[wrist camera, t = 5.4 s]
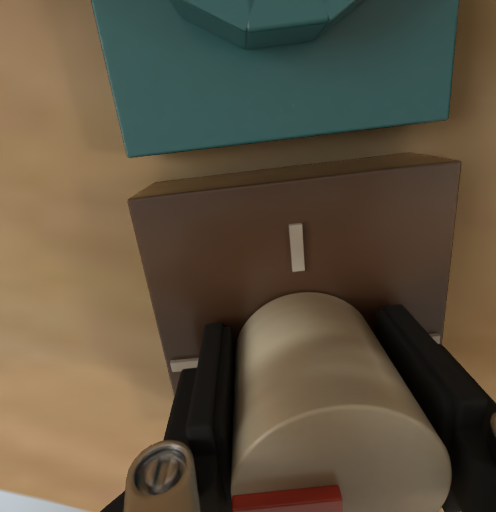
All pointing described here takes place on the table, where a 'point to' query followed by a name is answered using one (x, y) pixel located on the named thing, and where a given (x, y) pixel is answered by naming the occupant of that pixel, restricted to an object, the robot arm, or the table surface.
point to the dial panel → (296, 243)
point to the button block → (272, 68)
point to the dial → (327, 417)
